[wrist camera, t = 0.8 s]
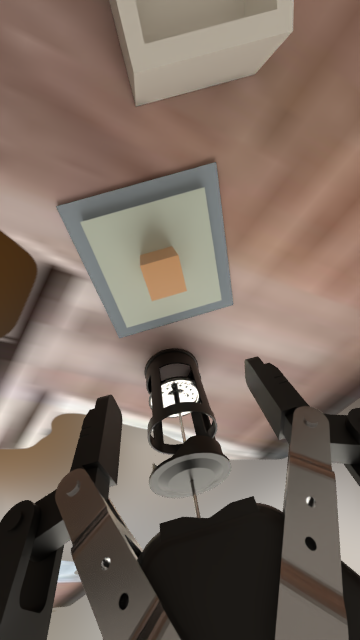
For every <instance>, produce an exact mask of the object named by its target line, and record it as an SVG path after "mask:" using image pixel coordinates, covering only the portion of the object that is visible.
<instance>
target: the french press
mask: <svg viewBox="0 0 360 640" xmlns="http://www.w3.org/2000/svg"><path fill="white" fill-rule="evenodd" d="M175 363H180V364H186V365H189V366H190V368H191V372H190V375H189V376H188V377H183V376H181V377H172V378H168V379H165V380H163V381H161V378H160V369H159V368H161V367H163V366H166V365H169V364H175ZM145 378H146V387H147V391H148V393H149V394H150V397H149V406H150V408H151V409H152V414H153V417H152V418H151V420H150V421H149V424H148V441H149V444H150V446H151V447H152V448H153V449H154V450H156V451H158V452H160V453H163V454H168V455H173V456H172V457H171V458H169V459H167V460H165V461H164V462H162V463H161V464H160V465H158V466H156V465H155V464H153V471H152V473H151V475H150V479H149V485H150V489H151V490H152V491H153V492H154V493H156V494H157V495H160V496H162V497H167V498H184V497H190V496H193V500H194V505H195V511H196V517H197V518H200V512H199V507H198V502H197V496H196V495H199V494H202V493H204V492H207V491H209V490H211V489H213V488H215V487H216V486H218V485H219V484H221V483H222V482H223V481H224V480H225V479H226V478H227V477H228V475H229V473H230V471H231V464H230V461H229V459H228V458H227V456H225V455H224V454H223V453H222V450H221V446H220V444H219V443H218V441H216V439H215V434H216V432H217V423H216V420H215V417H214V414H213V412H212V411H211V409H210V406H209V403H208V400H207V397H206V394H205V391H204V388H203V385H202V382H201V376H200V373H199V370H198V364H197V361H196V359H195V357H194V356H193V355H192V354H191V353H189V352H187V351H185V350H182V349H167V350H163V351H161V352H159V353H157V354H155V355H154V356H153V357H152V358H151V359H150V360H149V361H148V363H147V364H146V367H145ZM189 413H191V415H192V420H193V424H194V428H195V432H196V436H192V437H190V438H189V439H188V440H187V441H186V438H185V433H184V427H183V422H182V417H181V416H184V415H187V414H189ZM208 416H210V417H211V418H212V419H213V422H212V425H211V423H210V420H209V417H208ZM167 417H169V418H174V417H179V420H180V426H181V432H182V437H183V444H177V445H169V444H164V441H163V431H162V420H163V419H165V418H167ZM152 429H153V433H154V438H153V437H152V436H151V434H150V433H151V431H152Z"/></svg>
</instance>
